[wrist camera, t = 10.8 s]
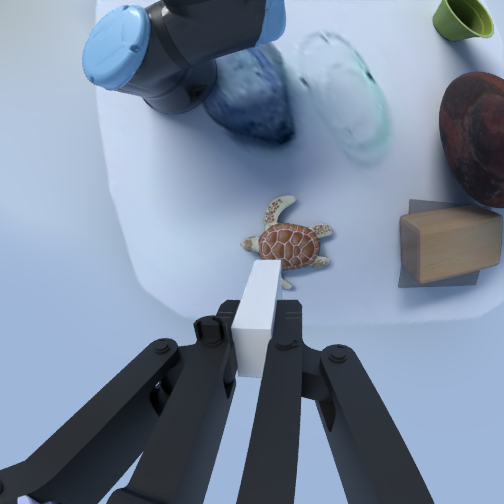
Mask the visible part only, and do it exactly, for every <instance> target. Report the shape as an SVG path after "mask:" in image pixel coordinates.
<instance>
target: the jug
mask: <svg viewBox="0 0 504 504" xmlns="http://www.w3.org/2000/svg"><path fill="white" fill-rule="evenodd" d="M439 129H440V136H441V141H442V145H443V149H444V152H445V155H446V158H447V160H448V163H449V166H450V168H451V170H452V172H453V174H454V176H455V177H456V179H457V181H458V182H459V184H460V185H461V186H462V188H463V189H464V190H465V191H466V192H467V193H468V194H469V195H470V196H471V197H472V198H474V199H475V200H476V201H478V202H479V203H481V204H483V205H486V206H489V207H495V208H504V80H503V79H502V78H500V77H498V76H496V75H493V74H490V73H485V72H471V73H467V74H464V75H461V76H460V77H458V78H456V79H455V80H453V81H452V82H451V83H450V84H449V86H448V87H447V89H446V91H445V93H444V96H443V99H442V103H441V106H440V111H439Z"/></svg>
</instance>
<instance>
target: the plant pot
mask: <svg viewBox="0 0 504 504" xmlns="http://www.w3.org/2000/svg"><path fill="white" fill-rule="evenodd" d="M433 24H434V26H435V27H436V29H437V30H438V32H439V33H440V34H441V35H442V36H443V37H444V38H446V39H448V40H450V41H459V40H463V39H468V38H472V37H482V38H489V37H491V36H492V35H493V33H494V25H493V22H492V19H491V17H490V15H489V13H488V12H487V10H486V9H485V7H484V6H483V5H482V4H481V3H480V2H479V0H442V2H441V4H440V5H439V7H438V9H437V11H436V12H435V14H434V16H433Z"/></svg>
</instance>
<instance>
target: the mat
mask: <svg viewBox="0 0 504 504" xmlns="http://www.w3.org/2000/svg"><path fill="white" fill-rule="evenodd" d="M461 206H468V205H463V204H454V203H444V202H434V201H423V200H410V202H409V214H414V213H421V212H427V211H434V210H441V209H448V208H454V207H461ZM484 208H486V207H484ZM486 209H488V210H491V208H486ZM479 271H480V270H477V271H473V272H469V273H466V274H462V275H458V276H454V277H450V278H445V279H441V280H437V281H433V282H428V283H424V284H422V283H418V282H417V281H416V279H415V278H414V277H413V276H412V274H411V273H410V272H409V271H408V270H407V268H406V267H405V266H404V265H403V263H402V268H401V274H400V279H399V285H398V287H436V286H461V285H476V282H477V278H478V275H479Z"/></svg>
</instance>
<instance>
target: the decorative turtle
mask: <svg viewBox="0 0 504 504" xmlns="http://www.w3.org/2000/svg"><path fill="white" fill-rule="evenodd" d="M295 201H296V198H295V196H292V195H285V196H280V197H277V198H275V199H274V200H272V201H271V203H270V204H269V205H268V207H267V209H266V212H265V217H264V224H265V232H264V233H263V234H262V235H261V236H260V237H249V238H247V239H244V240H243V241H242V242H241V246H242V247H243V249H244V250H245V251H249V252H258V254H259V256H260V257H261V258H262V259H263V260H281V270H288V269H296V268H301V267H306V266H308V265H309V266H311V267H314V268H321V267H325V266H327V265H328V264H329V263H330V259H329V258H327V257H321V256H317V255H318V253H319V251H320V242H319V239H318V238H321V237H326V236H329V235H332V233H333V231H332V229H331V227H330V226H328V225H326V224H321V223H319V224H315V225H313V226H311V227H309V228H306V227H303V226H299V225H295V224H289V223H278V221H277V219H278V216H279V215H280V213H281V212H282V211H283V210H284V209H285V208H287V207H288V206H290V205H291V204H293V203H294V202H295ZM281 279H282V288H283V289H291V288H292V284H290V283H289V282H287V281H286V280H285V279H283V278H282V277H281Z"/></svg>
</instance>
